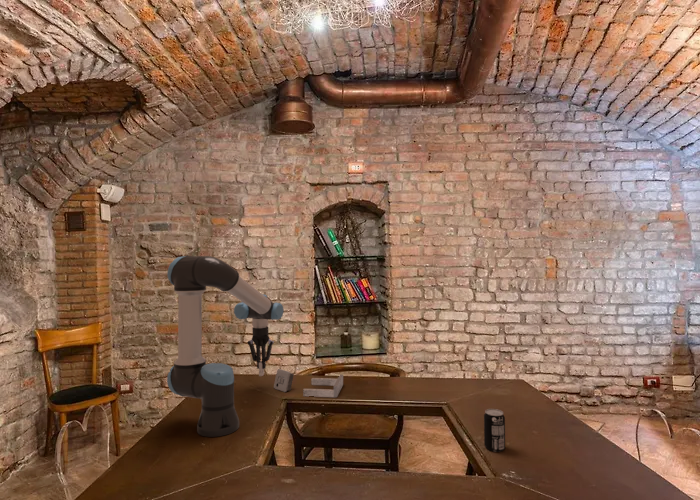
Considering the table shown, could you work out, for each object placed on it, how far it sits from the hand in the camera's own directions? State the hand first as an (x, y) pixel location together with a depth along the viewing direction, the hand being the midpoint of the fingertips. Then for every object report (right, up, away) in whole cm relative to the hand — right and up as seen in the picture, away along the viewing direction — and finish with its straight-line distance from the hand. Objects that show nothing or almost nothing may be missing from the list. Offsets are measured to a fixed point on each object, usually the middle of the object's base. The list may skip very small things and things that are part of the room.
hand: (261, 375), depth 210 cm
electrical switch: (+11, -6, -2) cm, 13 cm away
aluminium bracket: (+30, -6, -5) cm, 31 cm away
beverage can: (+91, -6, -66) cm, 112 cm away
